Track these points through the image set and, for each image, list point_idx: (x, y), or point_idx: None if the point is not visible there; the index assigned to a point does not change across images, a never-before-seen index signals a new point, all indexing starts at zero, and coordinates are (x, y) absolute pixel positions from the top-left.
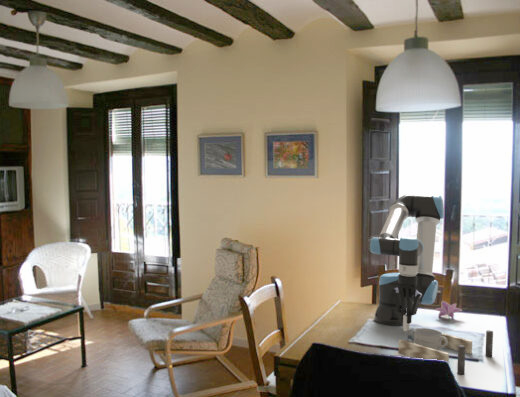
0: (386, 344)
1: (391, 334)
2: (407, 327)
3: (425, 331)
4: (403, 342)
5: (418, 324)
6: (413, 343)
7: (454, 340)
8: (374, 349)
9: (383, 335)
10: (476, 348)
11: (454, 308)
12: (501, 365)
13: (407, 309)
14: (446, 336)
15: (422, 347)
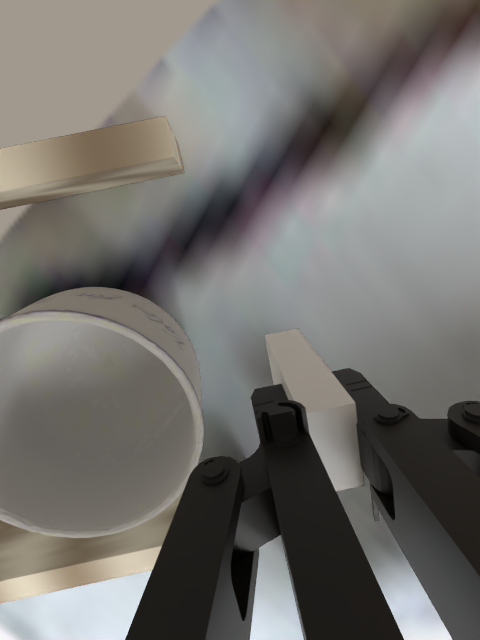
0: (342, 204)
1: (443, 386)
2: (274, 372)
3: (170, 473)
4: (114, 128)
5: (443, 625)
6: (29, 176)
7: (28, 556)
8: (324, 22)
9: (466, 327)
10: (19, 610)
11: None
12: None
13: (323, 503)
14: (82, 556)
15: None
